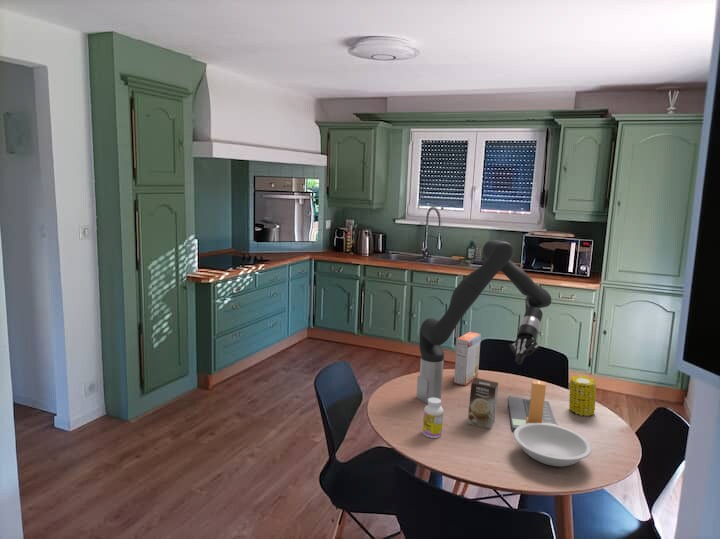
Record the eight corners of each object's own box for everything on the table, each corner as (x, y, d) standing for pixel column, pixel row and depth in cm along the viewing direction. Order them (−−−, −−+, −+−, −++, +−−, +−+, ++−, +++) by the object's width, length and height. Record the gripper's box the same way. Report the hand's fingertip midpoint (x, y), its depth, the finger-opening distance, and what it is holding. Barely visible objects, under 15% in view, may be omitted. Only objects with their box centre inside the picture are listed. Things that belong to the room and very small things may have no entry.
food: (598, 418, 205) (577, 422, 202) (578, 400, 215) (558, 403, 212) (608, 386, 199) (586, 390, 196) (587, 369, 209) (566, 372, 206)
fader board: (558, 437, 185) (560, 428, 184) (512, 431, 188) (513, 422, 188) (548, 405, 212) (549, 396, 211) (507, 400, 215) (508, 392, 215)
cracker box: (466, 374, 243) (469, 330, 239) (478, 377, 239) (481, 333, 235) (452, 382, 231) (456, 337, 228) (465, 386, 228) (469, 340, 224)
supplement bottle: (419, 431, 185) (421, 397, 183) (435, 428, 188) (438, 395, 186) (428, 440, 179) (430, 405, 177) (445, 437, 182) (447, 402, 179)
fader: (543, 427, 188) (547, 385, 185) (527, 425, 189) (531, 383, 186) (541, 421, 192) (546, 380, 190) (526, 419, 193) (530, 379, 191)
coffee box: (466, 423, 193) (470, 382, 190) (470, 416, 198) (474, 377, 196) (491, 429, 189) (495, 387, 186) (495, 422, 195) (498, 381, 192)
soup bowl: (512, 470, 162) (514, 451, 161) (511, 435, 185) (513, 418, 184) (595, 485, 156) (597, 465, 155) (583, 446, 179) (585, 429, 178)
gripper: (510, 324, 219) (499, 357, 209) (539, 322, 210) (529, 356, 200) (518, 336, 222) (508, 369, 212) (547, 334, 213) (537, 368, 203)
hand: (518, 363), depth 206 cm, fingers closed
